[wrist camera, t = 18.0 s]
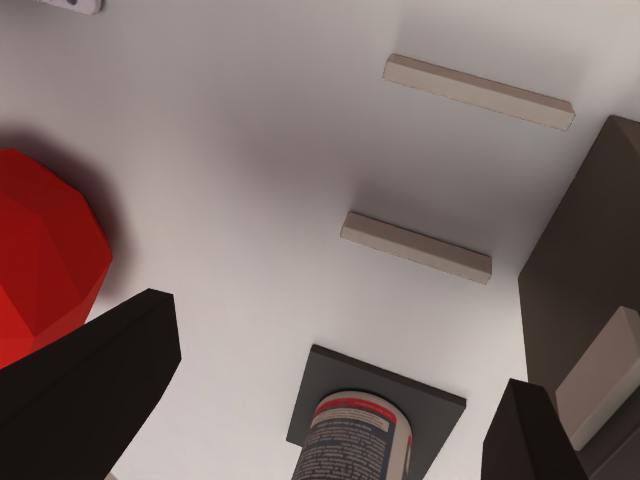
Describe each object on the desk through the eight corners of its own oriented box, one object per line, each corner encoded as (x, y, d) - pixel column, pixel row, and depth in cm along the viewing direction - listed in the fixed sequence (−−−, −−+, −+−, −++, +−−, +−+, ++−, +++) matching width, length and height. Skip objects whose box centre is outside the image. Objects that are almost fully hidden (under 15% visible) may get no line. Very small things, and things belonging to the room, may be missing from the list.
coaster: (288, 434, 29) (285, 441, 29) (312, 344, 25) (310, 350, 24) (416, 483, 28) (415, 491, 28) (466, 399, 24) (466, 407, 23)
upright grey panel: (345, 223, 20) (254, 414, 12) (392, 53, 16) (302, 168, 8) (554, 290, 19) (606, 550, 11) (658, 127, 15) (856, 344, 7)
